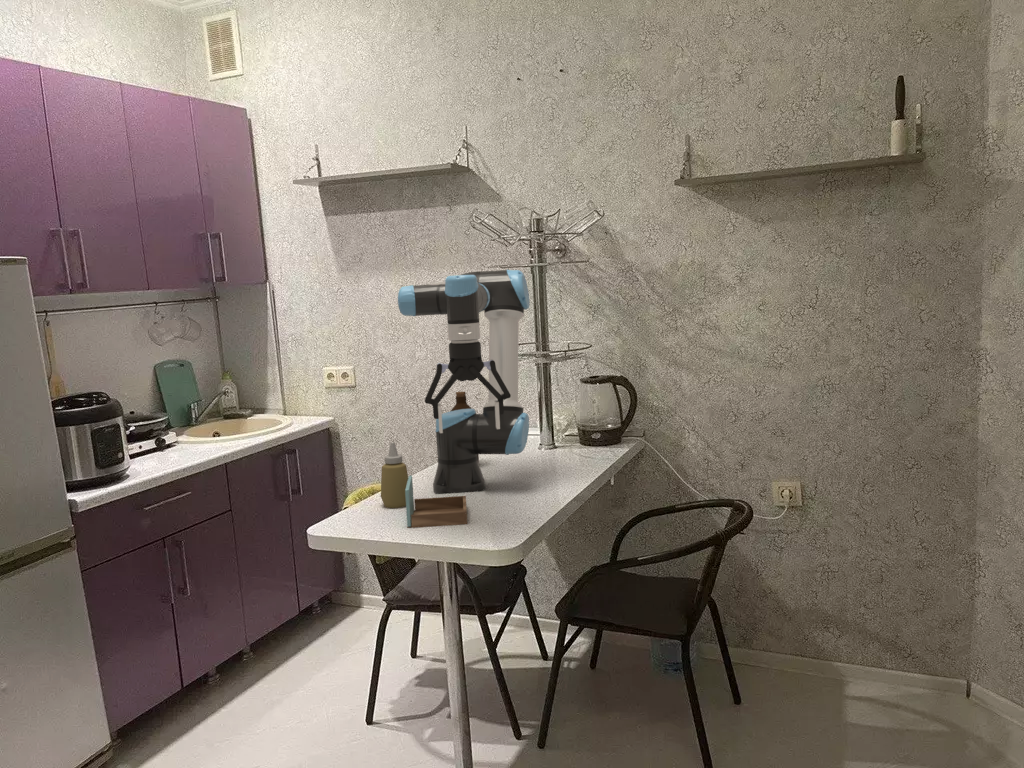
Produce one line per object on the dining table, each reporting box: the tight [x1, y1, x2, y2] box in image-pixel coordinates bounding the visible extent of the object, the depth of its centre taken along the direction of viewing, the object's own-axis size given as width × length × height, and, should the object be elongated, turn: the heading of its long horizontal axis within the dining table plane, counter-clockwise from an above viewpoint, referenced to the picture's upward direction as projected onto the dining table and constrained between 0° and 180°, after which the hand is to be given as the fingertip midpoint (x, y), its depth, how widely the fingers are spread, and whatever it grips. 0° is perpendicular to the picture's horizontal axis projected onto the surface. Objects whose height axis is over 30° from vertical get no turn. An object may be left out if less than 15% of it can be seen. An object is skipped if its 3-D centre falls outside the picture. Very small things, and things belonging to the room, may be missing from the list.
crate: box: [407, 495, 468, 529], centre depth 193 cm, size 15×15×4 cm
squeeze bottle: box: [380, 442, 409, 509], centre depth 205 cm, size 8×8×18 cm
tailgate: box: [405, 475, 415, 527], centre depth 192 cm, size 15×1×9 cm, turn 4°
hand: (469, 430), depth 182 cm, fingers open, 13 cm apart
